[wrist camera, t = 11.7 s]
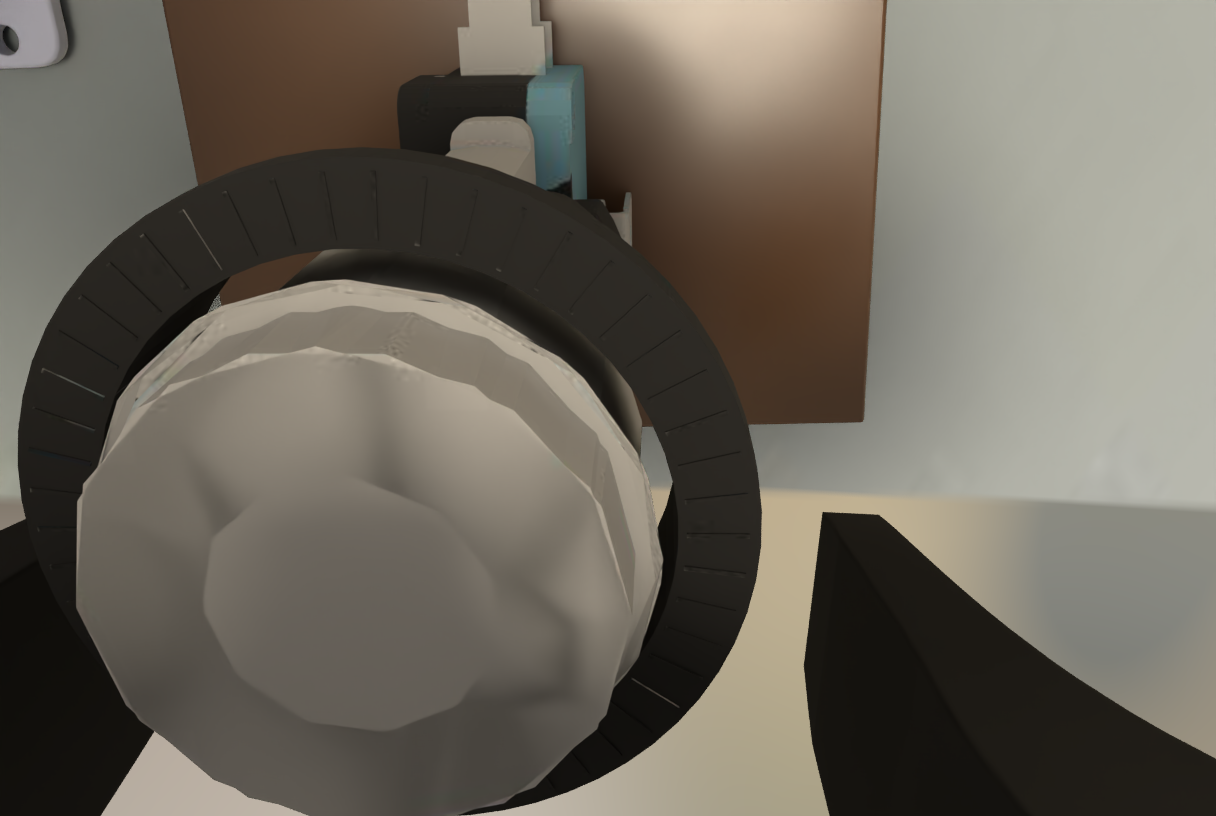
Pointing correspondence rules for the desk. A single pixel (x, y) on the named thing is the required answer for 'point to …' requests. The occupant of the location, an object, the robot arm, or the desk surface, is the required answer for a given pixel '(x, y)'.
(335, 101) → the brown wooden bridge block
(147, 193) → the desk surface
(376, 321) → the push button
